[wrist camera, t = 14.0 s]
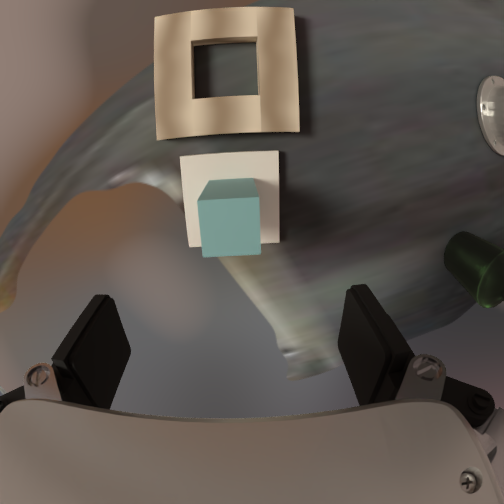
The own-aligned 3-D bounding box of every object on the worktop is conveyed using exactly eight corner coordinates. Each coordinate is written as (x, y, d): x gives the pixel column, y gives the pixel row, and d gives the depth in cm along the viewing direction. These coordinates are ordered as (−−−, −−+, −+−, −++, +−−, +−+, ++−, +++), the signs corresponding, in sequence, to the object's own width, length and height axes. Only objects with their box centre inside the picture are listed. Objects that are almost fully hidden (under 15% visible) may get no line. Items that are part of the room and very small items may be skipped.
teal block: (252, 177, 29) (259, 196, 20) (254, 219, 30) (260, 254, 22) (209, 180, 29) (197, 200, 20) (212, 221, 30) (202, 257, 22)
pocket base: (290, 14, 22) (293, 8, 20) (295, 131, 28) (299, 131, 26) (159, 23, 22) (155, 17, 20) (162, 139, 27) (157, 140, 26)
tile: (277, 150, 29) (278, 151, 28) (278, 239, 33) (279, 242, 32) (181, 155, 28) (179, 156, 27) (190, 243, 32) (189, 247, 31)
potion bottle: (442, 284, 37) (512, 356, 20) (434, 242, 34) (521, 312, 17) (476, 258, 35) (548, 318, 19) (471, 216, 32) (558, 270, 16)
